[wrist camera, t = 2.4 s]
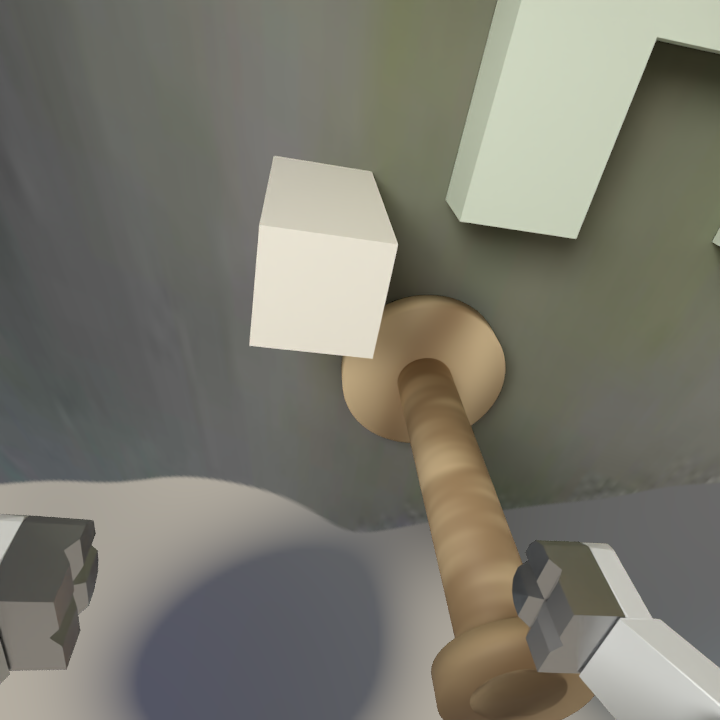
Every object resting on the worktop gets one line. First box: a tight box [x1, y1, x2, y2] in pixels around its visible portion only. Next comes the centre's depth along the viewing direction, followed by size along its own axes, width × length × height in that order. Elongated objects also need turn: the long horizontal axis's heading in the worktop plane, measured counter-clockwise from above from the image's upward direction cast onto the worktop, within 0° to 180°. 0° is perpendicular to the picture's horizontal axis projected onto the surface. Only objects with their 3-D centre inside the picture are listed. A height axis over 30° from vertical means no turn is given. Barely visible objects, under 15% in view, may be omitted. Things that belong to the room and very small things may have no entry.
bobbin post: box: [341, 295, 595, 720], centre depth 24 cm, size 9×9×18 cm
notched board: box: [446, 0, 720, 246], centre depth 24 cm, size 20×13×3 cm, turn 80°
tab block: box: [249, 156, 398, 359], centre depth 23 cm, size 4×4×9 cm
